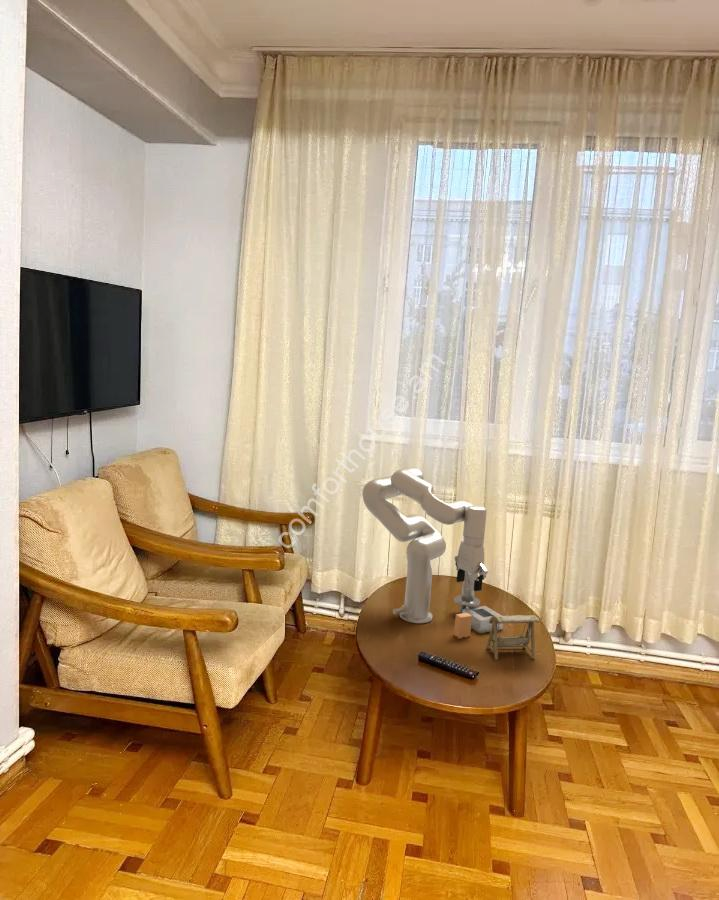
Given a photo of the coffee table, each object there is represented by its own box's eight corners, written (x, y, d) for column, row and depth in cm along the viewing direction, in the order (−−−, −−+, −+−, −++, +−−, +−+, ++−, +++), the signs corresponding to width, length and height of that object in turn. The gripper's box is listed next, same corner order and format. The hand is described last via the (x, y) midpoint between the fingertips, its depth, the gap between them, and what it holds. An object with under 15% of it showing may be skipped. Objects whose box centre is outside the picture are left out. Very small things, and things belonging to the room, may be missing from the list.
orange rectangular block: (469, 636, 248) (472, 615, 247) (458, 638, 246) (460, 617, 245) (464, 633, 251) (466, 612, 250) (453, 635, 249) (455, 614, 247)
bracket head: (479, 633, 252) (484, 581, 248) (446, 612, 269) (451, 563, 266) (502, 629, 257) (508, 578, 254) (469, 608, 275) (474, 561, 271)
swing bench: (524, 647, 243) (529, 608, 240) (535, 660, 233) (540, 619, 231) (485, 648, 240) (489, 608, 238) (494, 660, 231) (499, 619, 228)
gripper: (449, 534, 249) (445, 579, 252) (480, 548, 235) (476, 595, 237) (466, 532, 253) (461, 576, 256) (497, 546, 238) (492, 592, 241)
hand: (468, 585), depth 247 cm, fingers open, 9 cm apart
